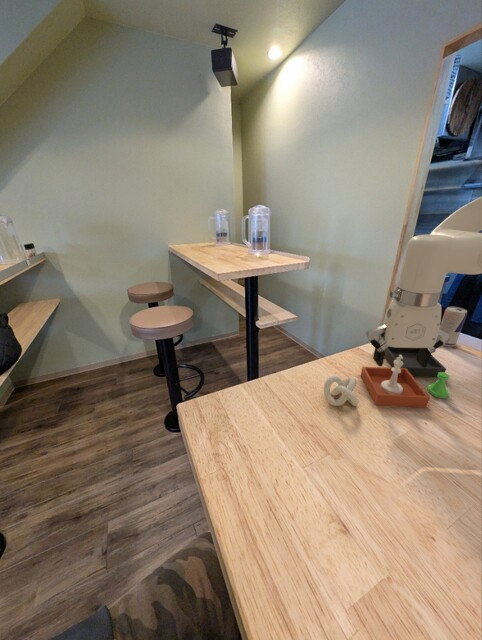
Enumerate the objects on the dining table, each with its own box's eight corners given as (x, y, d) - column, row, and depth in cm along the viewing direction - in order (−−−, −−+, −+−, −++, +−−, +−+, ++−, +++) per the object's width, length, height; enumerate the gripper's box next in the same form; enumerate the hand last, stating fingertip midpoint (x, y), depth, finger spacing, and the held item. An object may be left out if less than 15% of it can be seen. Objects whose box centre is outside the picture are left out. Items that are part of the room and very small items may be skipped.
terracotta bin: (403, 377, 68) (406, 368, 67) (426, 407, 58) (430, 397, 57) (360, 375, 69) (362, 366, 68) (375, 405, 59) (377, 395, 58)
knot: (367, 406, 59) (371, 386, 57) (341, 418, 56) (345, 398, 54) (342, 387, 65) (346, 368, 63) (318, 397, 62) (321, 378, 60)
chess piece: (375, 385, 65) (383, 352, 61) (390, 380, 66) (398, 347, 62) (392, 397, 61) (402, 363, 57) (407, 391, 62) (417, 358, 58)
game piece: (445, 400, 60) (453, 380, 57) (424, 391, 63) (431, 372, 60) (450, 392, 62) (458, 372, 60) (430, 384, 65) (437, 365, 63)
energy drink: (459, 345, 82) (472, 311, 77) (448, 348, 80) (460, 314, 75) (441, 337, 86) (453, 305, 81) (431, 341, 84) (442, 308, 79)
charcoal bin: (419, 353, 78) (421, 345, 77) (443, 378, 67) (446, 368, 66) (381, 352, 80) (383, 344, 78) (398, 376, 69) (401, 367, 67)
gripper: (380, 303, 51) (366, 372, 58) (474, 302, 49) (448, 374, 56) (367, 291, 58) (356, 354, 65) (450, 290, 55) (429, 355, 63)
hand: (399, 363), depth 60 cm, fingers open, 9 cm apart
